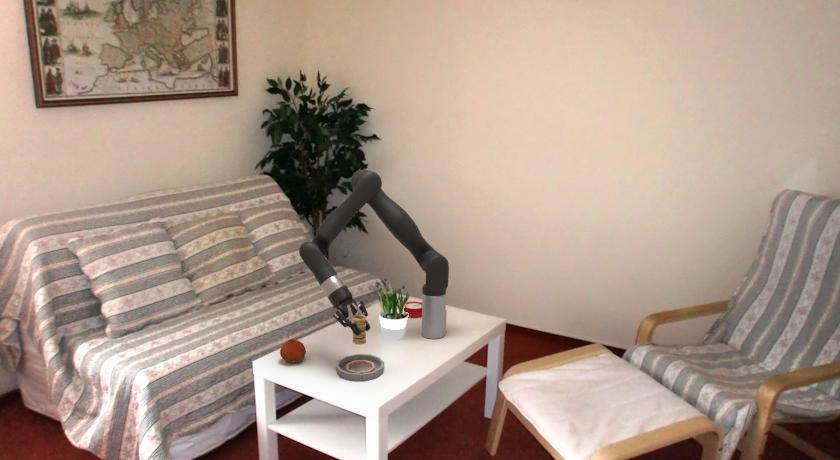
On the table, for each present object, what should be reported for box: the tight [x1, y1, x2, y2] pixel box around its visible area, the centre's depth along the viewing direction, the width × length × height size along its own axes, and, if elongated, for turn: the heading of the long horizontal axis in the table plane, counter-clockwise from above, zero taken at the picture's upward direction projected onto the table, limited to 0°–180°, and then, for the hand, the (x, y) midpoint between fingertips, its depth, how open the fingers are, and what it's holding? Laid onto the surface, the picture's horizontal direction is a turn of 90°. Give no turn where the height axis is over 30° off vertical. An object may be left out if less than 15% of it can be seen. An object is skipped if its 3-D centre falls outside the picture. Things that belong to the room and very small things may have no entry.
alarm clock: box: [404, 301, 422, 319], centre depth 278 cm, size 10×6×15 cm
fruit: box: [279, 338, 307, 364], centre depth 231 cm, size 9×9×8 cm
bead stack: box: [352, 315, 367, 345], centre depth 222 cm, size 4×4×9 cm
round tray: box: [335, 353, 385, 382], centre depth 225 cm, size 16×16×2 cm
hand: (363, 331), depth 221 cm, fingers closed on bead stack, 4 cm apart
